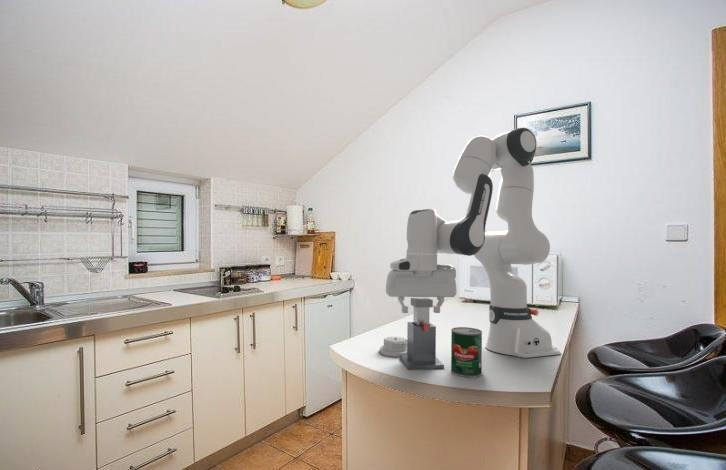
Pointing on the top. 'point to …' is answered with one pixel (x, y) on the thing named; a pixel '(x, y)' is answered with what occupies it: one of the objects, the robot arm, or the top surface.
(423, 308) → the column
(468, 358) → the canned tomato
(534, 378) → the top surface
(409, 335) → the grey hollow housing
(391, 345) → the mechanical component
